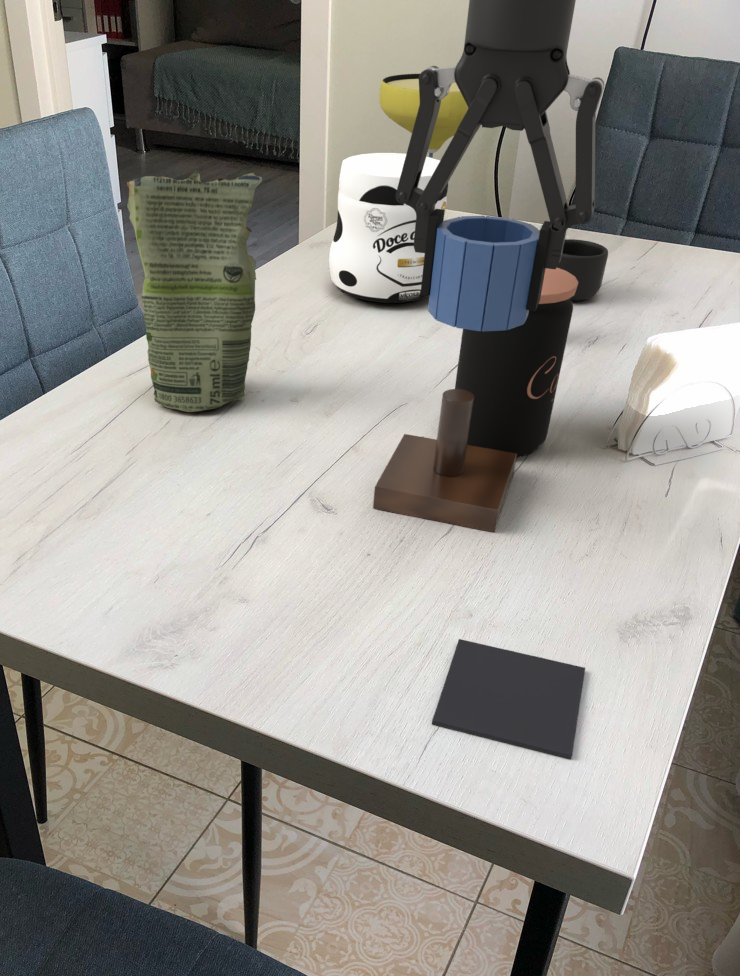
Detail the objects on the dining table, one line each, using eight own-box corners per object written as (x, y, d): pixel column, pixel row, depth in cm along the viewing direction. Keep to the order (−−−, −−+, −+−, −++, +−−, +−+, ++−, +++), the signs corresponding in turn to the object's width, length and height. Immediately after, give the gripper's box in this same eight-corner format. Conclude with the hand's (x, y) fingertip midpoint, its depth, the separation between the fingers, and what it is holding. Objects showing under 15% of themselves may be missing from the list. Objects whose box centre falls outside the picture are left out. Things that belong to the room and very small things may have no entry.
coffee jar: (527, 470, 99) (561, 302, 88) (434, 445, 103) (454, 281, 92) (557, 431, 107) (591, 271, 96) (468, 409, 111) (491, 253, 100)
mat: (584, 671, 74) (585, 667, 73) (570, 759, 66) (572, 755, 66) (458, 642, 76) (459, 638, 76) (431, 724, 69) (432, 720, 68)
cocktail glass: (486, 239, 165) (508, 79, 150) (457, 268, 152) (479, 96, 137) (389, 225, 171) (401, 70, 156) (353, 252, 158) (363, 85, 143)
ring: (533, 304, 84) (547, 222, 79) (518, 337, 77) (533, 250, 73) (440, 291, 86) (450, 211, 82) (419, 322, 79) (427, 237, 75)
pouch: (132, 397, 111) (113, 172, 96) (202, 367, 119) (195, 153, 104) (200, 426, 106) (191, 191, 91) (269, 393, 113) (271, 170, 98)
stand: (513, 474, 98) (530, 380, 92) (494, 532, 89) (512, 433, 83) (402, 454, 101) (411, 362, 95) (372, 508, 92) (381, 410, 86)
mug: (593, 287, 146) (603, 240, 142) (603, 307, 139) (614, 258, 135) (515, 283, 147) (523, 236, 143) (521, 303, 140) (529, 254, 136)
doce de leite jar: (411, 320, 133) (424, 186, 122) (306, 296, 140) (310, 167, 129) (460, 287, 145) (476, 161, 134) (361, 266, 152) (369, 145, 141)
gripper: (367, -20, 67) (349, 295, 81) (678, -5, 61) (602, 330, 75) (394, -27, 73) (373, 269, 86) (681, -13, 67) (610, 300, 81)
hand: (479, 297), depth 81 cm, fingers closed on ring, 8 cm apart
